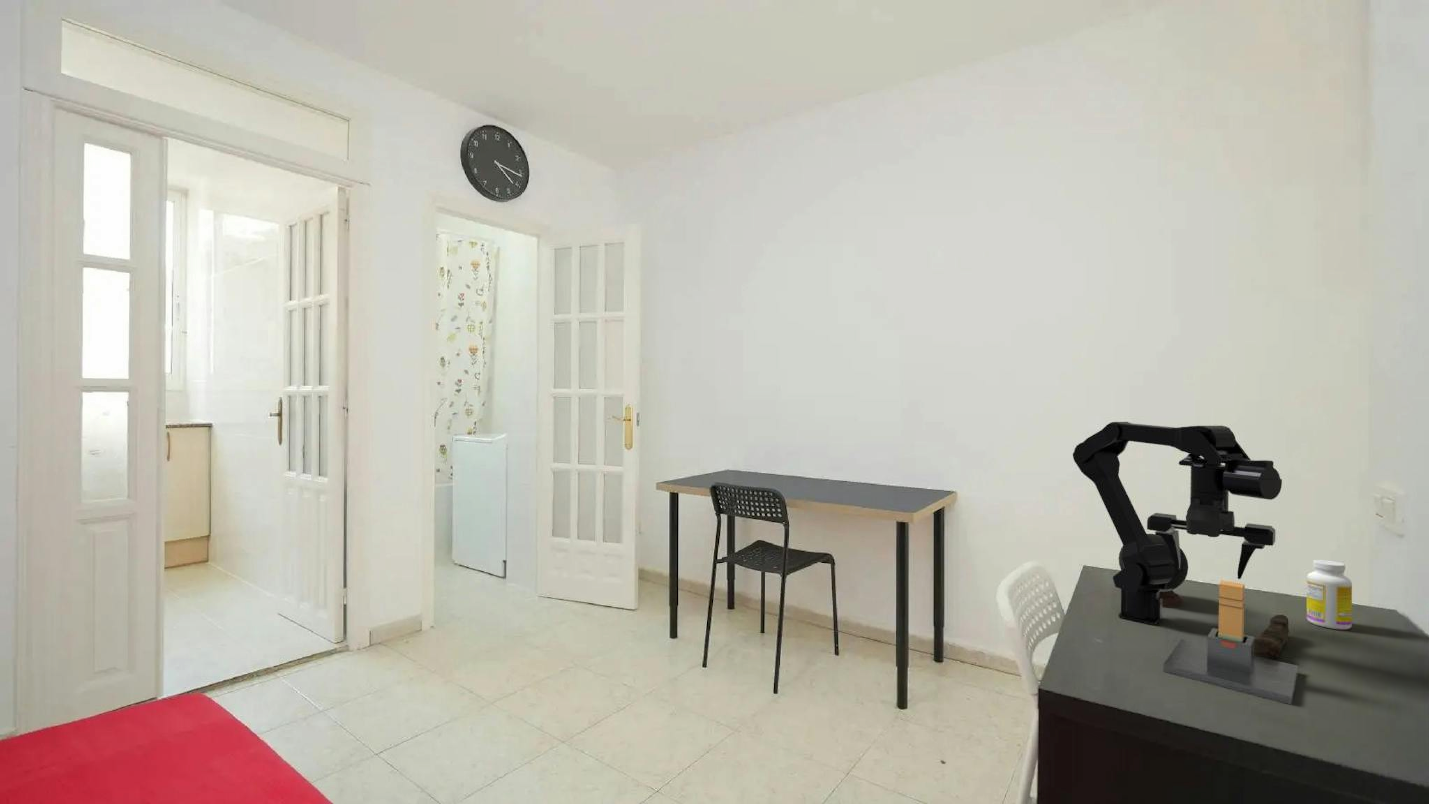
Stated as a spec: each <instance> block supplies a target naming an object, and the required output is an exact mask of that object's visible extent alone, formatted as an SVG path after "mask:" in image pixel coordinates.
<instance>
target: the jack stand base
mask: <svg viewBox="0 0 1429 804" xmlns="http://www.w3.org/2000/svg"><path fill="white" fill-rule="evenodd" d="M1218 633H1219V628H1214V627H1212V629H1211V630H1210V632H1209V634H1208V635H1207V641H1206V642H1207V644H1204V643H1199V642H1195V641H1191V640H1187V639H1180V640H1179V642H1178V644H1176V646H1175V647H1174V649H1173V650H1172V651H1171V652H1170V655H1168V657H1167V659H1166V660H1165V661H1164V663H1163V665H1162V666H1163V667H1162V668H1163V669H1162V670H1163V672H1164V673H1169V674H1171V675H1175V676H1181V677H1183V678H1187V679H1191V680H1195V681H1199V682H1202V683H1207V684H1211V685H1213V686H1218V687H1222V688H1226V689H1229V690H1233V691H1236V692H1237V691H1238V692H1241V693H1245V694H1249V695H1253V696H1256V697H1261V698H1263V699H1268V700H1271V701H1275V700H1276V701H1275V702H1280V703H1283V702H1285V703H1284V704H1286V703H1288V705H1290V704H1291V705H1292V703H1293V700H1294V698H1293V697H1294V693H1295V690H1296V684H1297V683H1296V682H1297V679H1298V674H1299V665H1297V664H1292V663H1287V662H1282V661H1279V660H1277V661H1275V660H1270V659H1266V658H1262V657H1257V656H1254V646H1255V639H1256V638H1255V636H1252V635H1247V634H1244V641H1243V643H1242V642H1237V641H1232V640H1228V639H1223V638H1219V637H1218Z"/></svg>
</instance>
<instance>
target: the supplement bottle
mask: <svg viewBox="0 0 1429 804" xmlns="http://www.w3.org/2000/svg"><path fill="white" fill-rule="evenodd" d="M1312 567H1313V568H1314V571H1311V572H1309V573H1308V574H1307V576H1306V620H1307V621H1308V622H1309V623H1311V624H1312V625H1316V626H1319V627H1322V628H1328V629H1333V630H1343V631H1345V630H1349V629H1351V628H1352V625H1353V624H1352V623H1353V620H1352V618H1353V613H1352V611H1353V610H1352V608H1353V606H1352V605H1353V597H1352V595H1353V594H1352V593H1353V582H1352V581H1351V579H1350V578H1349V577H1347V576H1345V575H1344V573H1345V571H1346V565H1345V563H1342V562H1338V561H1334V560H1326V559H1313V561H1312Z"/></svg>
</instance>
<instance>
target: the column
mask: <svg viewBox="0 0 1429 804" xmlns="http://www.w3.org/2000/svg"><path fill="white" fill-rule="evenodd" d="M1218 585H1219V587H1218V591H1219V592H1218V593H1219V594H1218V629H1219V633H1218V637H1219V638H1223V639H1228V640H1232V641H1237V642H1242V643H1243V641H1244V635H1245V632H1244V631H1245V606H1246V604H1245V598H1246V597H1245V585H1246V584H1245V583H1241V582H1235V581H1227V580H1223V579H1222V580H1220V582H1219V584H1218Z"/></svg>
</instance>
